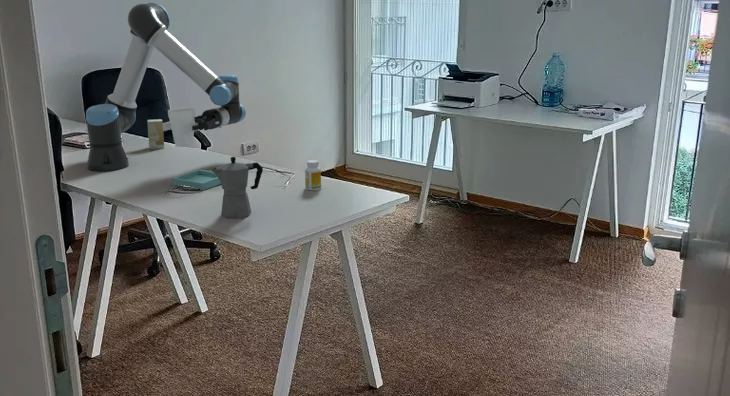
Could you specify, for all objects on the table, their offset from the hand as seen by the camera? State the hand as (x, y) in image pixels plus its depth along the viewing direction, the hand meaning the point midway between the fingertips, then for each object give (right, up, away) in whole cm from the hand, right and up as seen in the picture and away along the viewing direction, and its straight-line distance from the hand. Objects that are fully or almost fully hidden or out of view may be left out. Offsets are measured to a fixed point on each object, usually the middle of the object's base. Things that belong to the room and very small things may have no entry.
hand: (174, 128), depth 246 cm
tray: (+10, -20, -2) cm, 22 cm away
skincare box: (-22, -3, +51) cm, 56 cm away
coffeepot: (+30, -30, -36) cm, 56 cm away
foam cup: (+2, -6, +6) cm, 8 cm away
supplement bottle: (+51, -22, -9) cm, 56 cm away
